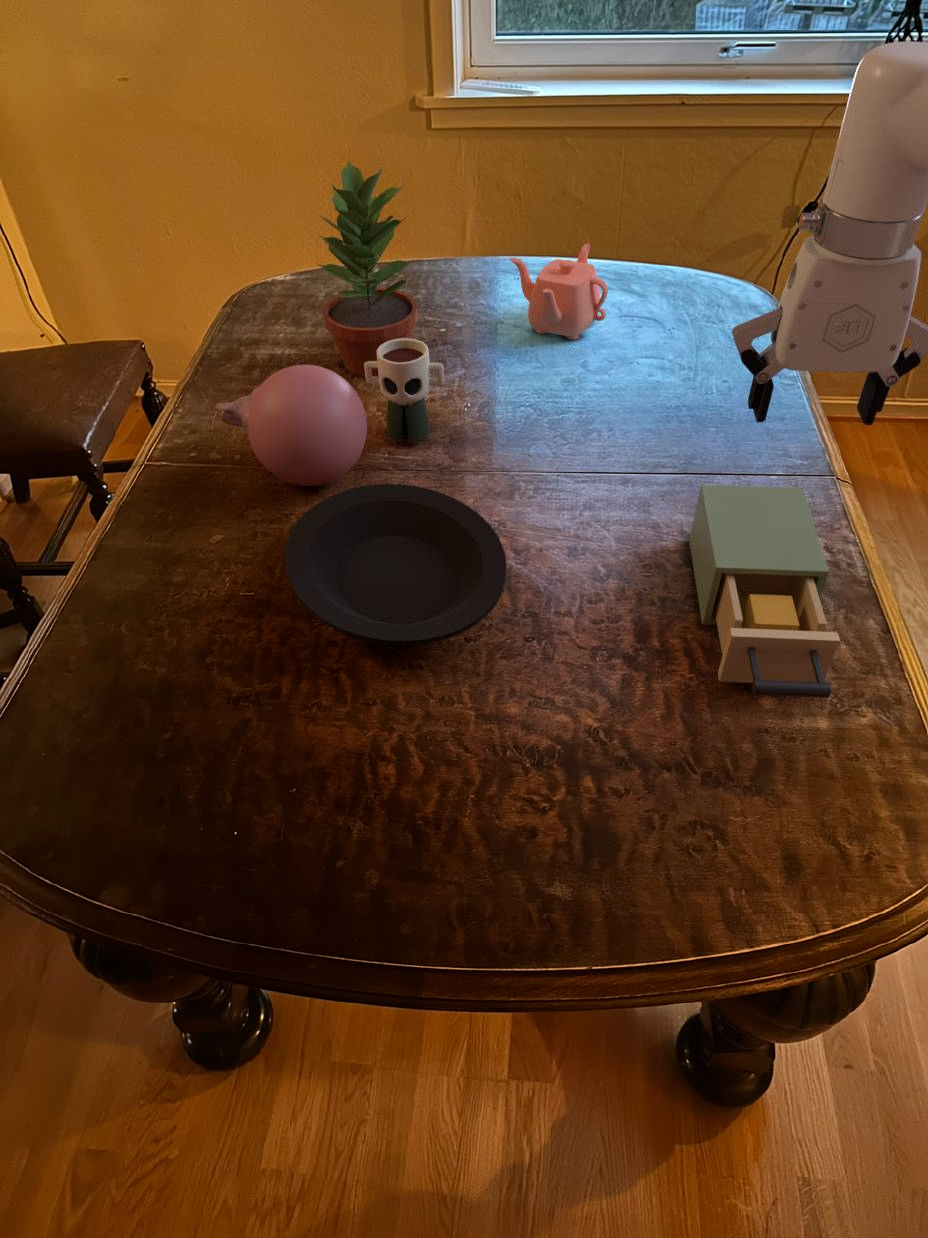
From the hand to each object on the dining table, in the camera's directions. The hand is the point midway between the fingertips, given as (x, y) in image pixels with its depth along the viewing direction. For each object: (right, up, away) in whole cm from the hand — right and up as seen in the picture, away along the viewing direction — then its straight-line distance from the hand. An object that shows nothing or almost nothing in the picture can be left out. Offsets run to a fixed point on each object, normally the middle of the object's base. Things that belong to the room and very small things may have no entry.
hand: (810, 415), depth 82 cm
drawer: (0, -23, +12) cm, 26 cm away
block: (0, -21, +12) cm, 24 cm away
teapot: (-17, +31, +67) cm, 76 cm away
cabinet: (+1, -15, +21) cm, 26 cm away
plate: (-40, -16, +21) cm, 48 cm away
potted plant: (-47, +22, +60) cm, 79 cm away
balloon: (-55, +1, +39) cm, 67 cm away
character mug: (-40, +8, +45) cm, 61 cm away
